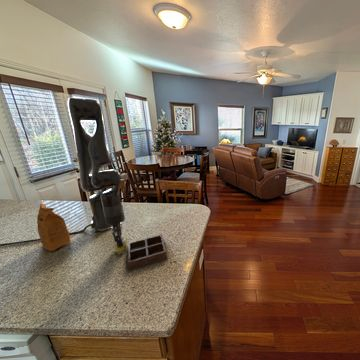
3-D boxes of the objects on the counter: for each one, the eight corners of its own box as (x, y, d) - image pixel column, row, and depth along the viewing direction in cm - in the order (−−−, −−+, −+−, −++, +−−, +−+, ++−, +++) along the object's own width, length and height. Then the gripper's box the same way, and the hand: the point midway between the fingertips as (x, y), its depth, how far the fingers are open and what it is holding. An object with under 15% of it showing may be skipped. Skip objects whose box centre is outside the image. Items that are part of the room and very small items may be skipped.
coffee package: (64, 235, 105) (53, 199, 98) (74, 243, 98) (62, 205, 92) (40, 245, 96) (25, 206, 90) (48, 253, 90) (33, 213, 84)
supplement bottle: (119, 248, 95) (116, 233, 92) (129, 247, 95) (126, 233, 93) (114, 254, 90) (111, 239, 88) (124, 254, 91) (121, 239, 88)
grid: (129, 270, 81) (127, 263, 80) (129, 249, 94) (128, 242, 93) (167, 258, 88) (166, 251, 87) (162, 240, 101) (161, 234, 100)
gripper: (106, 208, 91) (112, 238, 96) (101, 221, 79) (110, 254, 84) (123, 205, 94) (129, 234, 99) (122, 217, 82) (129, 249, 87)
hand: (120, 243), depth 92 cm, fingers closed on supplement bottle, 4 cm apart
